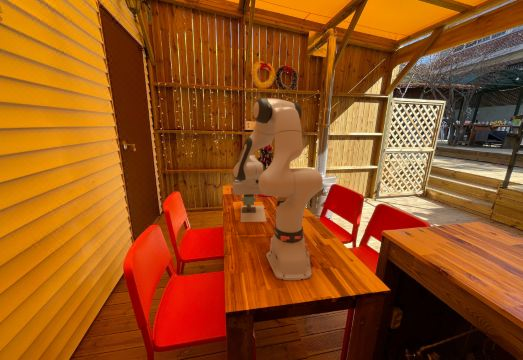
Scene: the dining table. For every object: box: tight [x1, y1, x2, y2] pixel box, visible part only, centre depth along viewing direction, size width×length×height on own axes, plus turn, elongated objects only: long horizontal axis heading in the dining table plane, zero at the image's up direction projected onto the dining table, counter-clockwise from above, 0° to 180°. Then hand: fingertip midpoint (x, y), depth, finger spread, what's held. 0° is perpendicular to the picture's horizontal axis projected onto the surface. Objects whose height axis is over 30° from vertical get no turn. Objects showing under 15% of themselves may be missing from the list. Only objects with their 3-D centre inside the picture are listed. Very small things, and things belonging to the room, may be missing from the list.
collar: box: [243, 194, 255, 206], centre depth 136 cm, size 6×6×5 cm
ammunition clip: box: [276, 196, 289, 207], centre depth 145 cm, size 11×2×12 cm, turn 99°
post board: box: [240, 205, 267, 223], centre depth 133 cm, size 24×15×8 cm, turn 4°
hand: (248, 200), depth 136 cm, fingers closed on collar, 6 cm apart
